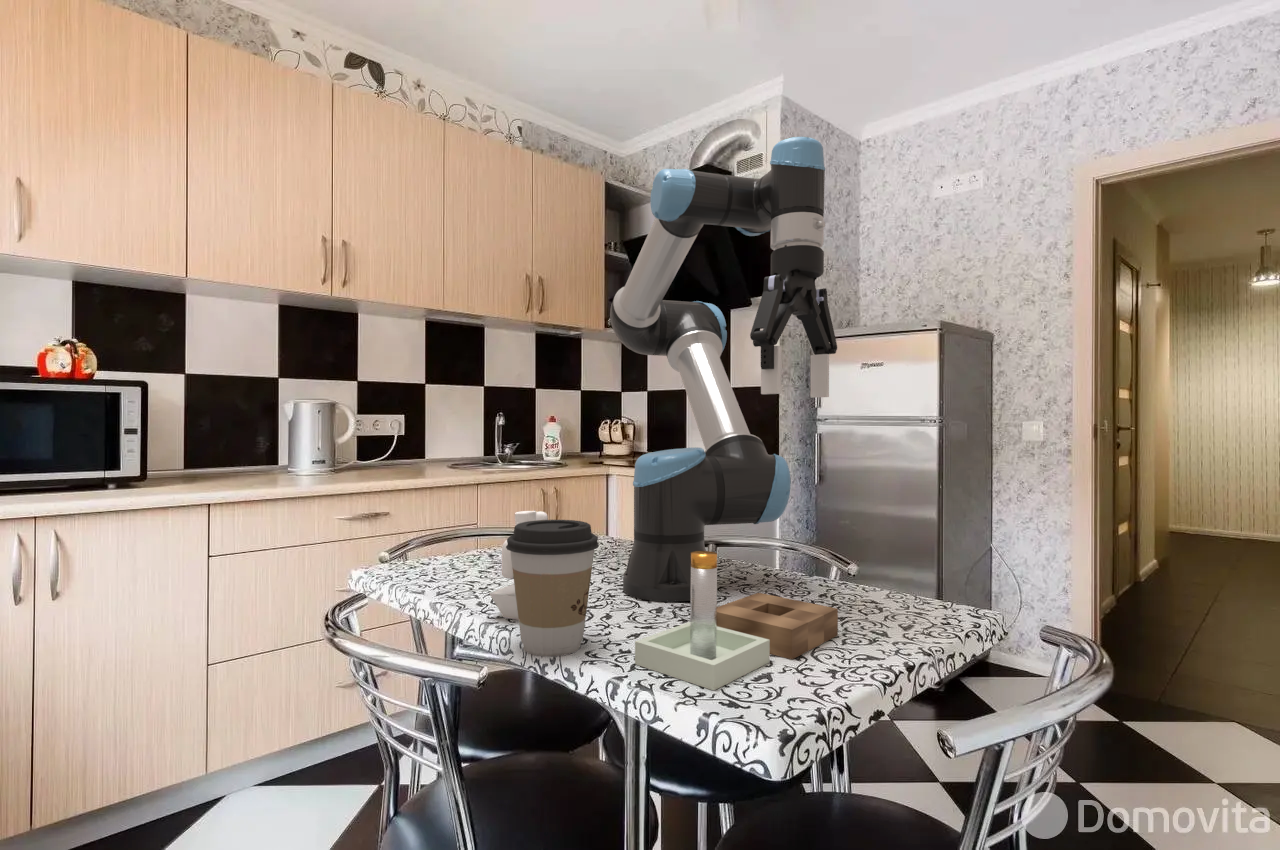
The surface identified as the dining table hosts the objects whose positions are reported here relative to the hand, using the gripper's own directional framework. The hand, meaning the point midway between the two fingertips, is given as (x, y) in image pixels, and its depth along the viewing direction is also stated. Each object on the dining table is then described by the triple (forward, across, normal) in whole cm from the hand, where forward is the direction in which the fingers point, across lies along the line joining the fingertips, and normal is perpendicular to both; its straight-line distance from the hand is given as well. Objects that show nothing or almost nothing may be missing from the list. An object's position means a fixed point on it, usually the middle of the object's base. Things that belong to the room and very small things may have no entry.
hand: (796, 396), depth 95 cm
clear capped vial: (+31, -25, -3) cm, 40 cm away
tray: (+32, -25, -3) cm, 40 cm away
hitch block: (+32, -11, -3) cm, 34 cm away
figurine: (+32, -28, +27) cm, 50 cm away
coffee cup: (+32, -34, +14) cm, 48 cm away
